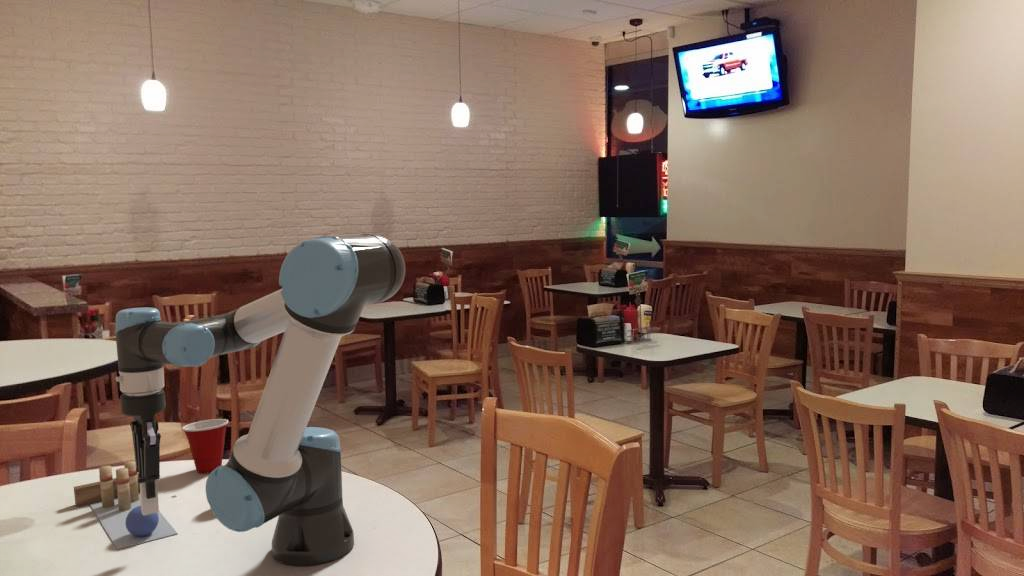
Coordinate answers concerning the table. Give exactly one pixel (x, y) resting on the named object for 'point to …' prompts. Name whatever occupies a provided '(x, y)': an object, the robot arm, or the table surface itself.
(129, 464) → the pin right
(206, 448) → the plastic cup
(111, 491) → the pin left
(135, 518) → the ball
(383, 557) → the table surface
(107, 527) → the plate
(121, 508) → the pin front
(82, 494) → the backstop
